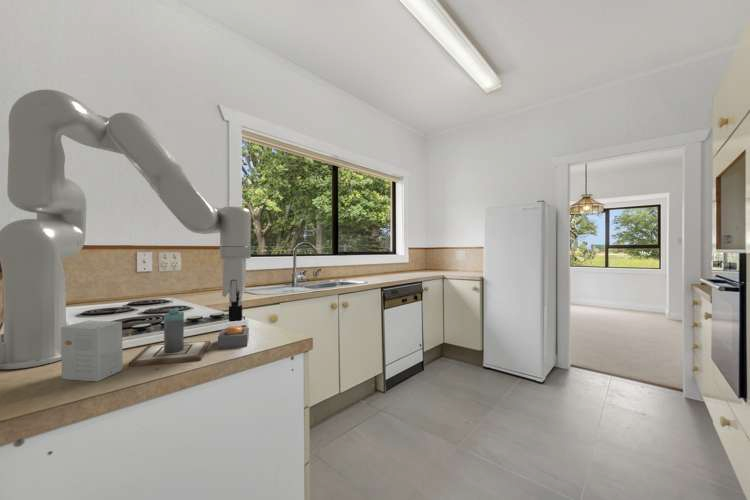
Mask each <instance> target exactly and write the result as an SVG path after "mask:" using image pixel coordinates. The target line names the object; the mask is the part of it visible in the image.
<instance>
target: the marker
mask: <svg viewBox="0 0 750 500" xmlns="http://www.w3.org/2000/svg"><path fill="white" fill-rule="evenodd" d="M168 311H169V312H167V313H164V315H163V344H164V352H165V353H176V352H180V351H182V350H183V349H184V343H185V342H184V341H185V340H184V333H185V331H184V329H185V328H184V327H185V326H184V325H185V324H184V323H185V321H184V320H185V319H184V318H185V317H184V316H185V314H184V311H180V308H171V309H169V310H168Z"/></svg>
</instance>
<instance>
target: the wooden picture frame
mask: <svg viewBox="0 0 750 500" xmlns="http://www.w3.org/2000/svg"><path fill="white" fill-rule="evenodd" d="M210 345H211V340H203V341H187V342H186V341H185V342H184V349H183V350H182V351H180V352H176V353H165V352H164V343H159V344H157V343H156V344H148V345H147V346H146V347H145V348H143V350H141V351H140V352H139V353H138V354H137V355H136V356H135V357H134V358H132V359H131V360H130V361H129V362H128V367H139V366H150V365H161V364H163V365H164V364H172V363H173V364H174V363H175V364H176V363H183V362H184V363H185V362H195V361H196V362H197V361H202V359H203V357H204V355H205V353H206V352H207V350H208V349H209V346H210Z"/></svg>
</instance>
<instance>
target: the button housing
mask: <svg viewBox="0 0 750 500" xmlns="http://www.w3.org/2000/svg"><path fill="white" fill-rule="evenodd" d="M249 331H250V328H249V327H242V334H236V335H226V328H223V329H221V330H220V332H219V335H218V337H217V349H229V348H241V347H242V348H243V347H248V343H249V338H250V337H249V336H250V333H249Z"/></svg>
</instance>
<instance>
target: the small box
mask: <svg viewBox="0 0 750 500" xmlns="http://www.w3.org/2000/svg"><path fill="white" fill-rule="evenodd" d="M123 358H124V357H123V322H122V321H111V320H110V321H108V320H107V321H106V320H85V321H81V322H76V323H73V324H68V325H66V326H64V327H61V360H60V361H61V379H62V380H68V381H69V380H70V381H82V382H96V383H97V382H100V381H103V380H104V379H106V378H108V377H110V376H113V375H115V374H117V373H119V372H121V371H123V369H124V368H123V367H124V365H123Z"/></svg>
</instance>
